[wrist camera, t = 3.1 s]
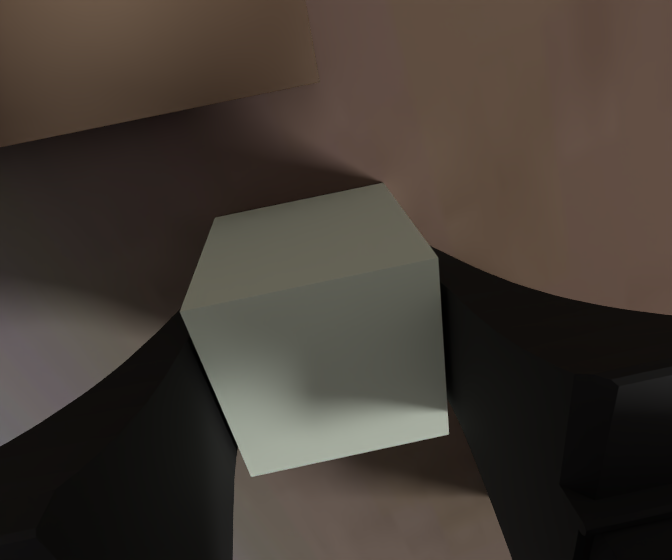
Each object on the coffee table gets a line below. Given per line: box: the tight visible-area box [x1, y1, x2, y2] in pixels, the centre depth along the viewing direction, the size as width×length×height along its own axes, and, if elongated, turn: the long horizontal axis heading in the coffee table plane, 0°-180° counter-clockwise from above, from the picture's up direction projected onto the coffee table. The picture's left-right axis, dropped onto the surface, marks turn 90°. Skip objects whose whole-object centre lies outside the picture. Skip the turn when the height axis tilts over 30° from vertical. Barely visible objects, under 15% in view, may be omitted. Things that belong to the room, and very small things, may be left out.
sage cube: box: [180, 183, 449, 477], centre depth 10 cm, size 4×4×4 cm
